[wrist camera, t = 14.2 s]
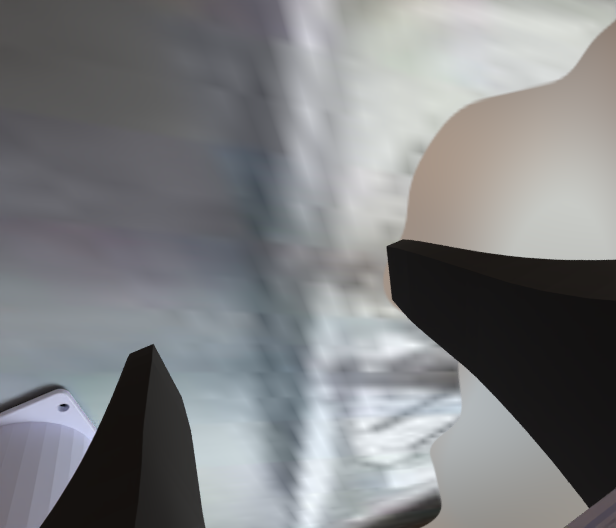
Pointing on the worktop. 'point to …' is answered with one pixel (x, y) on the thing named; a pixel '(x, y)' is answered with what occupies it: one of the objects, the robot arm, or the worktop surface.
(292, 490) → the worktop surface
